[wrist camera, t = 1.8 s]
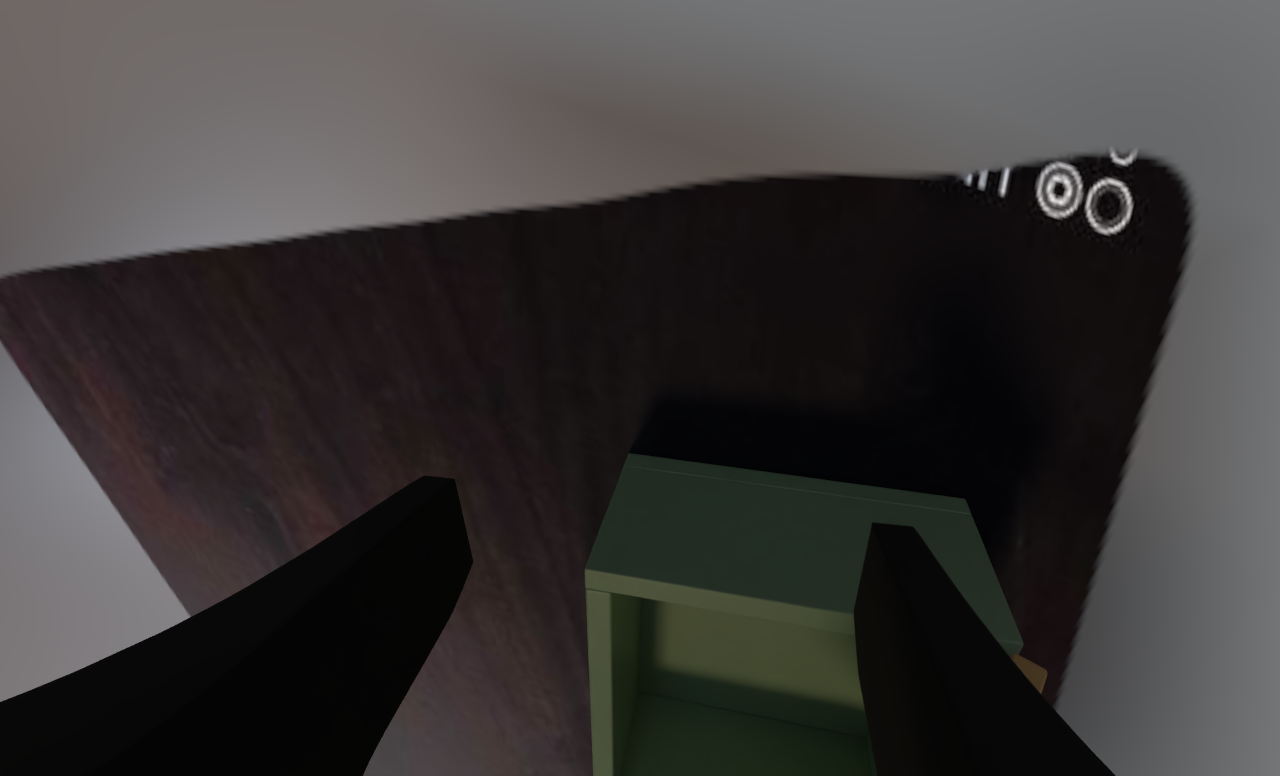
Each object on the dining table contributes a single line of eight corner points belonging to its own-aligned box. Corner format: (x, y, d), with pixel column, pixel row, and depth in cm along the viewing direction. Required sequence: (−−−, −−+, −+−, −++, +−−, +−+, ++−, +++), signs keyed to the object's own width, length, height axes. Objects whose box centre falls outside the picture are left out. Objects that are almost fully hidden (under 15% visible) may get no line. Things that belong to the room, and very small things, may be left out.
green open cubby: (626, 683, 29) (594, 814, 24) (628, 452, 22) (584, 568, 17) (879, 734, 27) (900, 888, 22) (965, 498, 20) (1024, 644, 15)
